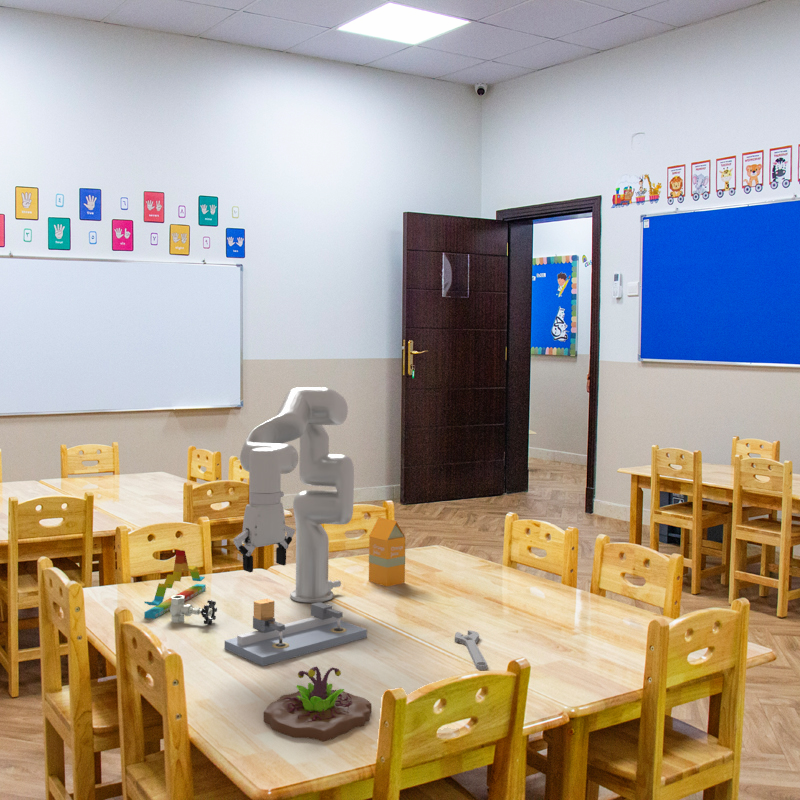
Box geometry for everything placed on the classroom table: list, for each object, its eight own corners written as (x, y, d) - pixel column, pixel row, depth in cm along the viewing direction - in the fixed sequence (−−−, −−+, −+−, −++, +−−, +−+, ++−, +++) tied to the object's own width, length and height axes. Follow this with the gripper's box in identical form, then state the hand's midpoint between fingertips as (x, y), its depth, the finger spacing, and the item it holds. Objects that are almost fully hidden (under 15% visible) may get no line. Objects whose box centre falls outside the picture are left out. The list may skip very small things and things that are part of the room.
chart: (155, 619, 243) (155, 564, 243) (144, 618, 244) (144, 563, 243) (206, 591, 273) (206, 541, 272) (196, 590, 274) (196, 541, 273)
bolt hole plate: (327, 622, 242) (327, 596, 242) (366, 637, 231) (367, 610, 230) (224, 648, 220) (224, 620, 220) (262, 666, 209) (262, 636, 208)
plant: (245, 726, 176) (246, 669, 176) (303, 693, 194) (304, 642, 193) (331, 749, 167) (332, 689, 166) (384, 713, 184) (385, 659, 183)
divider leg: (264, 631, 225) (264, 597, 225) (288, 641, 218) (289, 606, 217) (251, 635, 222) (251, 600, 222) (275, 645, 215) (275, 609, 215)
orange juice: (386, 577, 292) (387, 515, 290) (405, 582, 285) (406, 519, 284) (368, 581, 286) (368, 518, 285) (386, 586, 280) (387, 522, 279)
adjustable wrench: (488, 672, 209) (488, 664, 209) (460, 672, 209) (460, 664, 209) (478, 636, 234) (478, 630, 234) (453, 636, 234) (453, 629, 234)
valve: (164, 624, 239) (205, 628, 236) (164, 599, 239) (205, 603, 236) (177, 617, 246) (217, 621, 242) (177, 593, 245) (217, 597, 242)
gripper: (284, 492, 229) (284, 559, 230) (225, 500, 217) (226, 570, 218) (302, 496, 223) (302, 564, 225) (243, 505, 212) (243, 577, 213)
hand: (264, 567), depth 221 cm, fingers open, 9 cm apart
